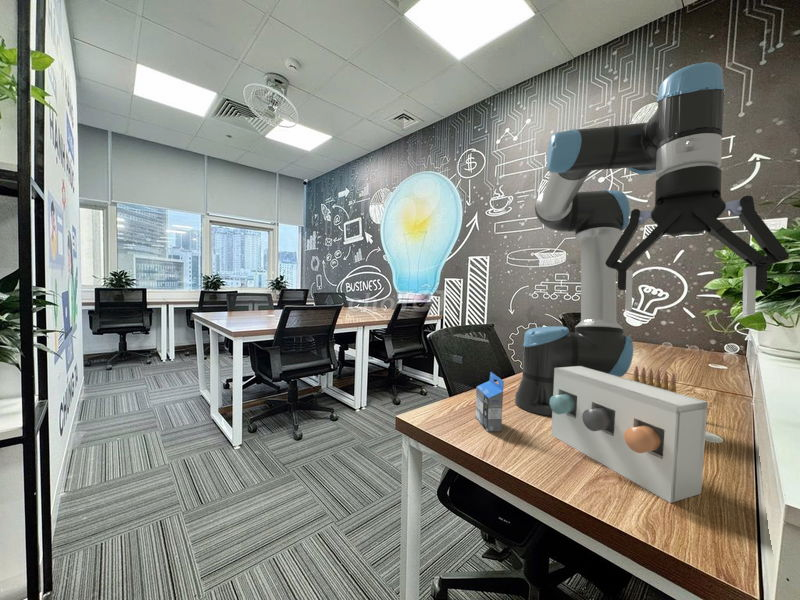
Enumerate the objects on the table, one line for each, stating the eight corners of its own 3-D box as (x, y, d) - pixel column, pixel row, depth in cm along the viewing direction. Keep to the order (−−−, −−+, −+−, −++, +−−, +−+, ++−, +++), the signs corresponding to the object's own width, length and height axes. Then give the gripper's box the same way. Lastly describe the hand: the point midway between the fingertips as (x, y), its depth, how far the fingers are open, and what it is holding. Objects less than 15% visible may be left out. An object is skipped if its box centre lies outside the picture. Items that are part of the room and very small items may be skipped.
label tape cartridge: (474, 417, 86) (476, 371, 85) (488, 416, 86) (490, 371, 85) (486, 432, 77) (488, 381, 76) (502, 432, 77) (504, 381, 77)
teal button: (549, 410, 73) (550, 392, 73) (559, 408, 74) (560, 391, 74) (563, 417, 69) (564, 398, 69) (574, 415, 70) (575, 397, 70)
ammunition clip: (676, 415, 91) (678, 373, 90) (674, 416, 90) (676, 373, 89) (631, 403, 99) (634, 364, 99) (629, 404, 98) (631, 365, 98)
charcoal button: (581, 426, 65) (582, 406, 65) (592, 424, 66) (593, 404, 66) (600, 434, 61) (601, 414, 61) (611, 432, 62) (612, 412, 62)
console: (551, 435, 76) (554, 367, 75) (576, 430, 79) (580, 365, 78) (670, 503, 53) (676, 406, 52) (701, 493, 55) (707, 401, 55)
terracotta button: (623, 446, 57) (624, 423, 57) (635, 443, 58) (636, 421, 58) (647, 457, 53) (648, 433, 53) (659, 455, 54) (661, 431, 54)
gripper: (589, 181, 54) (585, 308, 54) (828, 140, 39) (825, 316, 38) (595, 195, 60) (591, 309, 60) (804, 164, 45) (801, 317, 44)
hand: (683, 312), depth 49 cm, fingers open, 13 cm apart
